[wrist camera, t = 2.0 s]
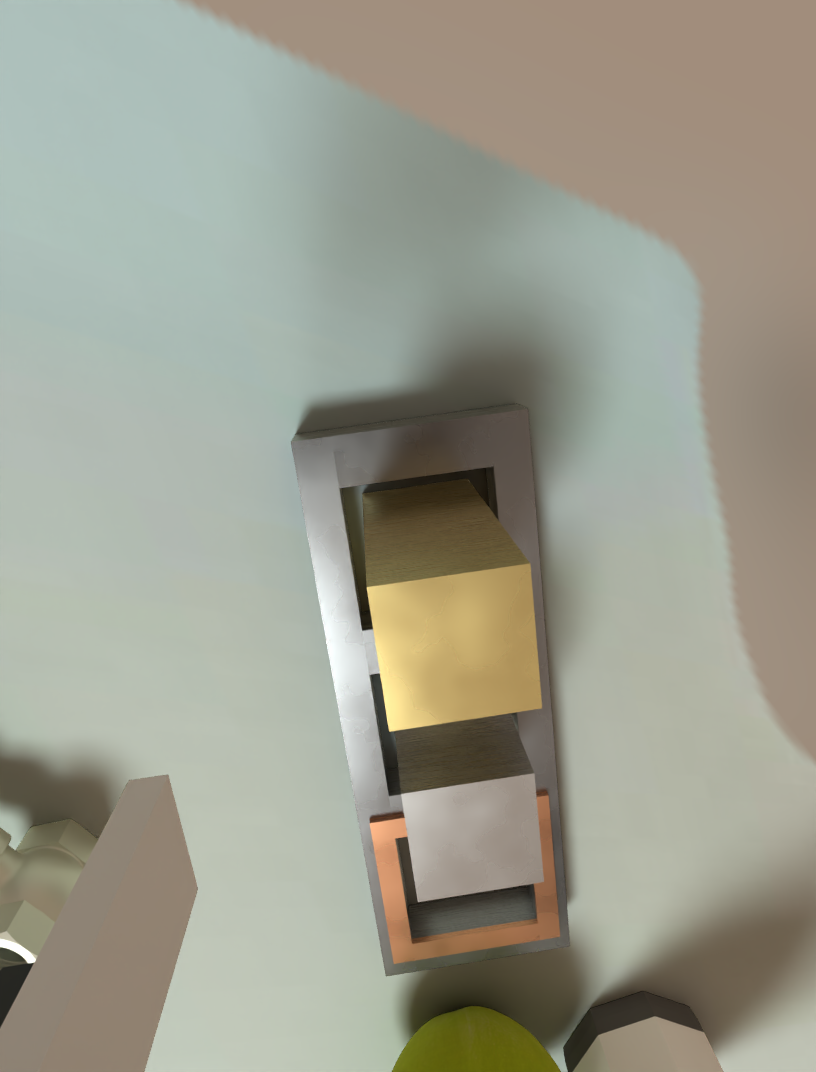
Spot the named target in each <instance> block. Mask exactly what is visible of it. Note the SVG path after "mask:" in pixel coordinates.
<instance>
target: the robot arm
mask: <svg viewBox="0 0 816 1072" xmlns="http://www.w3.org/2000/svg"><path fill="white" fill-rule="evenodd" d="M197 890H198V887H197V883H196V880H195V876H194V872H193V868H192V864H191V860H190V857H189V853H188V849H187V845H186V841H185V837H184V834H183V830H182V826H181V822H180V818H179V814H178V811H177V807H176V803H175V799H174V795H173V791H172V788H171V784H170V780H169V776H168V775H161V776H154V777H148V778H141V779H134V780H129V781H128V783H127V785H126V787H125V789H124V791H123V793H122V795H121V797H120V798H119V800H118V802H117V804H116V806H115V808H114V810H113V812H112V814H111V816H110V818H109V820H108V822H107V824H106V825H105V827H104V829H103V831H102V833H101V835H100V837H99V839H98V841H97V843H96V845H95V847H94V849H93V851H92V852H91V854H90V856H89V858H88V860H87V862H86V864H85V866H84V868H83V870H82V872H81V874H80V876H79V877H78V879H77V881H76V883H75V885H74V887H73V889H72V891H71V893H70V895H69V897H68V899H67V901H66V903H65V904H64V906H63V908H62V910H61V912H60V914H59V916H58V918H57V920H56V922H55V924H54V926H53V928H52V929H51V931H50V933H49V935H48V937H47V939H46V941H45V943H44V945H43V947H42V949H41V951H40V953H39V955H38V956H37V958H36V960H35V962H33V963H27V964H21V965H14V966H8V967H3V968H2V969H1V970H0V1072H144V1071H145V1068H146V1064H147V1061H148V1057H149V1054H150V1051H151V1047H152V1044H153V1040H154V1037H155V1033H156V1030H157V1027H158V1023H159V1020H160V1016H161V1013H162V1010H163V1006H164V1003H165V999H166V996H167V993H168V989H169V986H170V982H171V979H172V976H173V972H174V969H175V965H176V962H177V958H178V955H179V952H180V948H181V945H182V941H183V938H184V935H185V931H186V928H187V924H188V921H189V918H190V914H191V911H192V907H193V904H194V900H195V897H196V894H197Z"/></svg>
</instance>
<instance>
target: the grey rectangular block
mask: <svg viewBox="0 0 816 1072" xmlns="http://www.w3.org/2000/svg"><path fill="white" fill-rule="evenodd" d="M395 737H396V748H397V758H398V768H399V778H400V789H401V797H402V804H403V810H404V817H405V823H406V829H407V836H408V842H409V849H410V855H411V862H412V868H413V875H414V881H415V888H416V894H417V901H418V902H422V901H428V900H435V899H441V898H447V897H453V896H459V895H466V894H472V893H478V892H484V891H491V890H497V889H503V888H509V887H516V886H522V885H528V884H534V883H541V882H544V876H543V865H542V854H541V842H540V831H539V820H538V809H537V797H536V786H535V775H534V771H533V769H532V766H531V764H530V761H529V759H528V756H527V754H526V751H525V749H524V746H523V744H522V741H521V739H520V736H519V734H518V731H517V729H516V726H515V724H514V721H513V719H512V716H511V714H510V713H508V714H502V715H495V716H489V717H482V718H476V719H469V720H463V721H456V722H450V723H443V724H436V725H430V726H423V727H417V728H410V729H404V730H397V731H395Z"/></svg>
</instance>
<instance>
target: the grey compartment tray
mask: <svg viewBox="0 0 816 1072" xmlns="http://www.w3.org/2000/svg"><path fill="white" fill-rule="evenodd" d="M291 445H292V451H293V456H294V462H295V468H296V473H297V479H298V485H299V490H300V496H301V501H302V507H303V513H304V518H305V524H306V530H307V535H308V541H309V546H310V552H311V558H312V563H313V569H314V575H315V580H316V586H317V591H318V597H319V603H320V608H321V614H322V620H323V625H324V631H325V636H326V642H327V648H328V653H329V659H330V664H331V670H332V676H333V681H334V687H335V693H336V698H337V704H338V709H339V715H340V721H341V726H342V732H343V738H344V743H345V749H346V754H347V760H348V766H349V771H350V777H351V783H352V788H353V794H354V799H355V805H356V811H357V816H358V822H359V828H360V833H361V839H362V844H363V850H364V856H365V861H366V867H367V872H368V878H369V884H370V889H371V895H372V901H373V906H374V912H375V917H376V923H377V929H378V934H379V940H380V946H381V951H382V957H383V962H384V968H385V974H386V976H392V975H398V974H404V973H410V972H416V971H422V970H428V969H434V968H440V967H446V966H452V965H459V964H465V963H471V962H477V961H483V960H489V959H495V958H501V957H507V956H513V955H519V954H525V953H532V952H538V951H544V950H550V949H556V948H562V947H568V946H570V940H569V927H568V914H567V901H566V888H565V875H564V863H563V850H562V837H561V824H560V811H559V799H558V786H557V773H556V760H555V747H554V734H553V722H552V709H551V696H550V683H549V670H548V658H547V645H546V632H545V619H544V606H543V593H542V581H541V568H540V555H539V542H538V529H537V517H536V504H535V491H534V478H533V465H532V452H531V440H530V427H529V414H528V409H527V408H525V407H523V406H521V405H519V404H517V403H516V404H509V405H502V406H495V407H488V408H480V409H473V410H466V411H459V412H452V413H444V414H437V415H430V416H423V417H416V418H408V419H401V420H394V421H387V422H380V423H372V424H365V425H358V426H351V427H344V428H336V429H329V430H322V431H315V432H308V433H300V434H295V436H294V437H293V439H292V441H291ZM478 468H486V475H487V486H488V496H489V506H490V510H491V511H492V512H493V514H494V515H495V516H496V518H497V519H498V521H499V522H500V523H501V525H502V526H503V527H504V529H505V530H506V531H507V533H508V534H509V535H510V537H511V538H512V539H513V541H514V542H515V543H516V545H517V546H518V547H519V549H520V550H521V552H522V553H523V554H524V556H525V557H526V558H527V560H528V561H529V562H530V566H531V578H532V590H533V602H534V614H535V626H536V639H537V651H538V663H539V675H540V687H541V699H542V708H541V709H534V710H528V711H521V712H515V713H510V714H511V716H512V719H513V721H514V724H515V726H516V729H517V731H518V734H519V736H520V739H521V741H522V744H523V746H524V749H525V751H526V754H527V756H528V759H529V761H530V764H531V766H532V769H533V771H534V775H535V786H536V797H537V809H538V820H539V831H540V842H541V854H542V865H543V876H544V882H541V883H534V884H528V885H527V887H521V888H515V889H509V890H502V891H496V892H490V893H484V894H478V895H471V896H465V897H459V898H453V899H447V900H440V901H434V902H428V903H422V904H416V905H408V899H407V893H406V886H405V880H404V874H403V868H402V861H401V855H400V849H399V843H398V838H402V837H408V836H407V829H406V823H405V817H404V810H403V804H402V797H401V789H400V778H399V768H398V767H397V768H391V769H387V767H386V761H385V755H384V749H383V742H382V736H381V730H380V724H379V717H378V711H377V705H376V699H375V692H374V686H373V680H372V674H378V673H380V670H379V663H378V657H377V651H376V644H375V638H374V631H373V625H372V618H371V612H370V611H365V612H362V611H361V605H360V598H359V592H358V586H357V580H356V573H355V567H354V561H353V555H352V548H351V542H350V536H349V530H348V523H347V517H346V511H345V505H344V498H343V492H342V488H344V487H351V486H358V485H365V484H373V483H380V482H387V481H394V480H401V479H408V478H415V477H422V476H429V475H436V474H443V473H450V472H457V471H464V470H471V469H478Z"/></svg>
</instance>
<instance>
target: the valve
mask: <svg viewBox="0 0 816 1072" xmlns="http://www.w3.org/2000/svg"><path fill="white" fill-rule="evenodd" d="M10 841H11V835H10V834H8V833H7V832H6V831H4V830H3V829H2V828H1V827H0V970H1V969H2V968H3V967H8V966H14V965H21V964H27V963H33V962H35V960H36V958H37V956H38V955H39V953H40V951H41V949H42V947H43V945H44V943H45V941H46V939H47V937H48V935H49V933H50V931H51V929H52V928H53V926H54V924H55V922H56V920H57V918H58V916H59V914H60V912H61V910H62V908H63V906H64V904H65V903H66V901H67V899H68V897H69V895H70V893H71V891H72V889H73V887H74V885H75V883H76V881H77V879H78V877H79V876H80V874H81V872H82V870H83V868H84V866H85V864H86V862H87V860H88V858H89V856H90V854H91V852H92V851H93V849H94V847H95V845H96V843H97V841H98V839H97V838H96V837H94V836H93V835H92V834H90V833H89V832H88V831H87V830H85V829H84V828H83V827H82V826H80V825H79V824H78V823H77V822H75V821H74V820H72V819H67V820H62V821H57V822H52V823H47V824H43V825H38V826H33V827H30V829H29V830H28V832H27V833H26V835H25V836H24V838H23V840H22V841H21V843H20V844H19V846H18V847H17V849H16V850H14V849H13V848H11V847H10V846H9V845H8V844H9V843H10Z"/></svg>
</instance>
